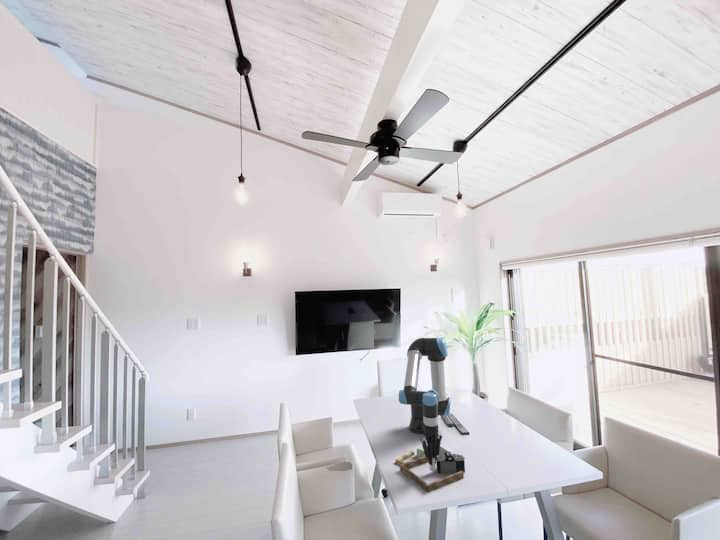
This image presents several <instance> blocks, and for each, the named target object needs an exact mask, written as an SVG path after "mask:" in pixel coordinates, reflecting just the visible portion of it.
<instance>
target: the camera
mask: <svg viewBox="0 0 720 540" xmlns="http://www.w3.org/2000/svg"><path fill="white" fill-rule="evenodd" d="M465 459H466V457H465V456H464V455H462V454H460V453H452V451H448V452H444V453H443V454H439V455H437V458H436V471H437V474H455V473H457V472H460V471H463V474H464V473H466V467H465V465H466V464H465V463H466V462H465Z"/></svg>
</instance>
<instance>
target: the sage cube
mask: <svg viewBox="0 0 720 540" xmlns="http://www.w3.org/2000/svg"><path fill="white" fill-rule="evenodd" d="M424 456H425V454H424V449H423V445H422V444H421V445H419V446H418V447H417V448H416V459H418V458H421V457H424Z"/></svg>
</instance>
